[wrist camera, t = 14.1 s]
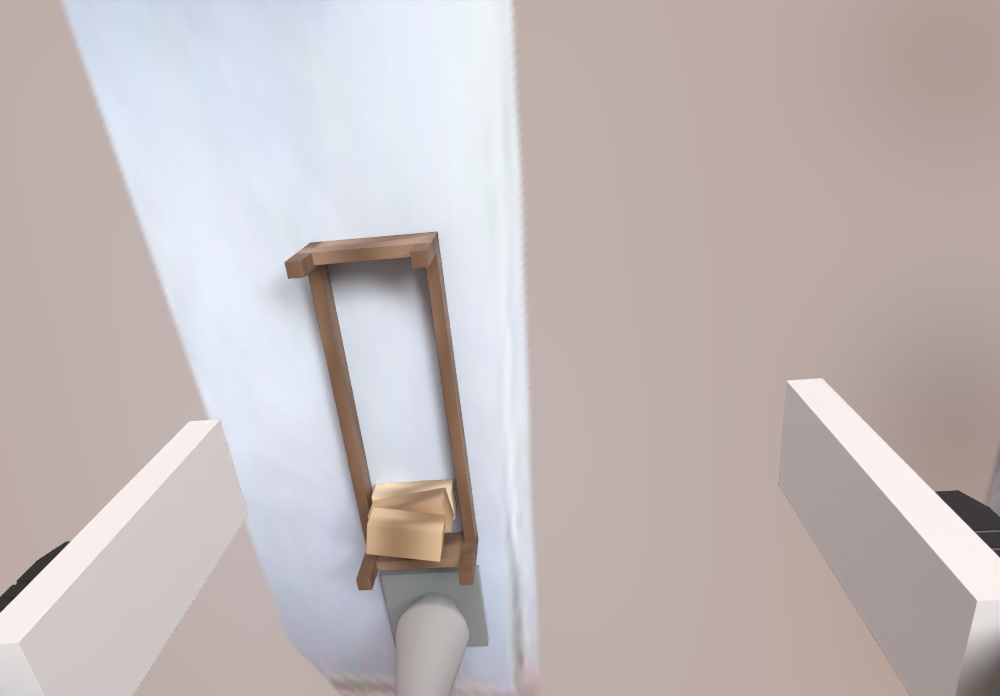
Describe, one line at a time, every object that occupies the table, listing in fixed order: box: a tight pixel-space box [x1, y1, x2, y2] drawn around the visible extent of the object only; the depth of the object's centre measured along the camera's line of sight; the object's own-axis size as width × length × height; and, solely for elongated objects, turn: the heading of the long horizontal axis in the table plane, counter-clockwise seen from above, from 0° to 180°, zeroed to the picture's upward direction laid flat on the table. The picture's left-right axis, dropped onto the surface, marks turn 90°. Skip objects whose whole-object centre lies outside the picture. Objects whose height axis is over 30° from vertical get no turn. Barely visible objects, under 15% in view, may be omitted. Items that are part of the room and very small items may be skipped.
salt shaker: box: [396, 592, 469, 696], centre depth 48 cm, size 6×6×13 cm
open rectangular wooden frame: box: [285, 232, 478, 590], centre depth 45 cm, size 8×25×5 cm, turn 5°
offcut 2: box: [368, 487, 454, 533], centre depth 48 cm, size 6×2×2 cm, turn 104°
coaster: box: [380, 566, 489, 649], centre depth 54 cm, size 8×8×1 cm
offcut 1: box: [372, 479, 457, 520], centre depth 50 cm, size 6×2×2 cm, turn 95°
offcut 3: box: [366, 507, 446, 562], centre depth 46 cm, size 5×2×2 cm, turn 84°
